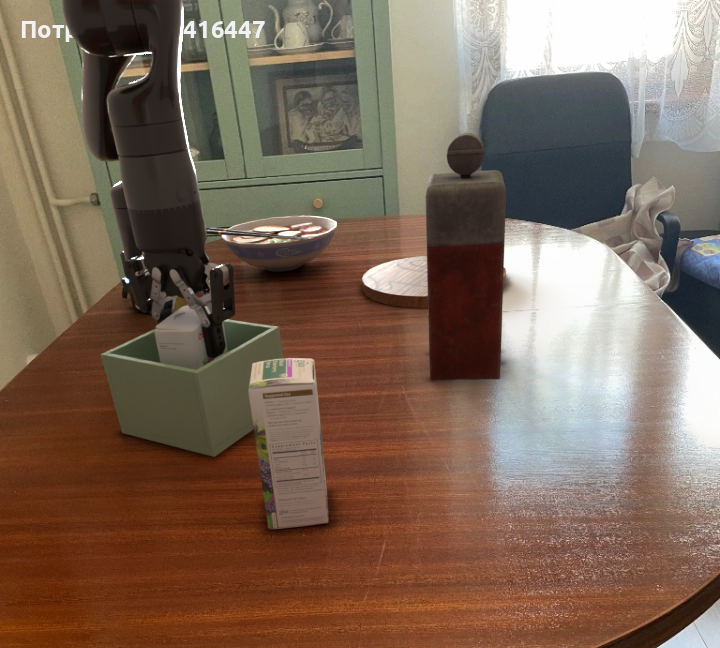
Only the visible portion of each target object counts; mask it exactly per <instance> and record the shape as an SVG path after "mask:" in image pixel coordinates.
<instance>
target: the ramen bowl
mask: <svg viewBox="0 0 720 648" xmlns="http://www.w3.org/2000/svg"><path fill="white" fill-rule="evenodd" d="M337 224H338V223H337V221H336V220H333V219H331V218H328V217H323V216H315V215H289V216H276V217H274V216H273V217H268V218H262V219H256V220H251V221H247V222H243V223H239V224H235V225H233V226H230V227H229V228H220V227H208V229H206V232H207V235H218V236H219V235H220V239H221V240H222V241H223V243H224V245H225V246H226V247H227V248H228V249H229V250H230V252H231V253H233V255H235V256H236V257H237V258H238V259H240V260H241V261H242V262H244V263H245V264H247V265H250V266H253V267H257V268H261V269H265V270H266V271H269V272H280V273H281V272H288V271H294V270H296V269H299V268H301V267H302V266H303V265H305V264H307V263H309V262H310V261H312V260H314V259H316V258H317V257H319V256H321V254H322V253H324V251H326V249H327V248H328V246H329V245H330V243H331V241H332V239H333V237H334V235H335V233H336V229H337Z"/></svg>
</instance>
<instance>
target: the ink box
mask: <svg viewBox="0 0 720 648" xmlns="http://www.w3.org/2000/svg"><path fill="white" fill-rule="evenodd" d="M204 306H205V305H204ZM205 308H206V310H207V312H208V314H210V313H211V312H210V311H209V309H208V307H207V305H206V306H205ZM202 327H203V325H202V323H201V321H200V319H199V317H198V316H197V314H196V312H195V310H193V309H190V308H189V306H183V307H181V308H180V309H178V310H177V311H176V312H174V313H173V314H172V315H170V316H169V317H167V318H166V319H165V320H163V321H162V322H161V323H159V324H158V325H157V324H156V325H155V329H156V330H155V331H154V333H155V338H156V343H157V348H158V352H159V357H160V362H161V363H164V364H169V365H174V366H179V367H185V368H190V369H195V370H197V369H199V368H201V367H203V366H204V365H206V364H208V363H210V362H211V361H213V360H215V359H217V358H219V357H220V356H222V355H224V354H226V353H228V348H227V342H226V335H225V329H224V322H222V327H223V333H224V338H225V344H226V347H225V350H224V352H223V354H221V355H219V356H218V357H216V358H210V357H208V356H207V352H206V347H205V342H204V337H203V332H202Z"/></svg>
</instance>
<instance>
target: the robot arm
mask: <svg viewBox="0 0 720 648" xmlns="http://www.w3.org/2000/svg"><path fill="white" fill-rule="evenodd" d="M61 6H62V7H61V8H62V13H63V18H64V22H65V25H66V27H67V30H68V32H69V34H70V36H71V38H72V39H73V40H74V41H75V43H76V44H77V46H79V47H80V48H81V49H82V50H81V51H82V78H81V80H82V84H81V124H82V132H83V136H84V141H85V144H86V146H87V148H88V150H89V152H90V154H91V155H92V156H93V158H95V159H96V160H98V161H100V162H118V163H119V173H120V174H119V175H120V181H119V182H117V183H115V184H114V185H112V186H111V188H110V189H109V198H110V202H111V206H112V209H113V214H114V215H113V216H114V219H115V222H116V227H117V230H118V235H119V239H120V243H121V248H122V251H121V252H120V254H119V256H120V260H121V264H122V268H123V273H124V276H125V277H122V278H121V284H122V289H121V298H123V299H128V294H129V298H130V301H131V307H132V308H135V310H137V311H139V312H141V313H143V314H147V313H149V314H150V315H151V316H152V318H153V319H154V320H155V321H156V320H157V322H156V324H157V323H158V324H159V323H161V322H162V321H163V320H165V319H166V318H167V317H169V316H170V315H172V313H173V312H174V308H175V302H176V298H177V297H181V298H184V299H185V301H186V302H187V304H188V306H189V308H190V309H193V310H195V312H196V314H197V316H198V317H199V319H200V321H201V323H202V325H203V327H202V332H203V337H204V342H205V347H206V352H207V356H208V357H210V358H216V357H218V356H219V355H221V354H223V352H224V350H225V347H226V344H225V338H224V333H223V327H222V322H223V321H225V320H227V319H228V320H230V319H231V318H232V317H235V315H236V301H235V300H236V299H235V298H236V297H235V278H234V277H235V276H234V267H233V265H232V264H231V263H230V262H226V263H224V264H221V265H220V264H217V263H213V262H211V260H210V258H209V256H208V254H207V252H206V249H205V246H206V242H207V240H208V234H207V232H206V230H207V226H206V221H205V215H204V210H203V205H202V199H201V194H200V187H199V182H198V176H197V172H196V171H197V170H196V168H195V164H194V160H193V159H192V154H191V150H190V146H189V140H188V135H187V129H186V124H185V119H184V111H183V105H182V95H181V56H182V55H181V53H182V42H183V31H184V15H185V13H184V10H185V9H184V1H183V0H61ZM144 54H145V55H146V54H151V63H150V67H149V70H148V71H147V74H146V75H145V76H144V77H142V78H140V79H137V80H136V81H135V80H134V81H133V82H132V81H131V82H129V83H126V84H123V85H121V86H118V83H119V81H120V79H121V77H122V76H123V74H124V72H125V71H126V69H127V68H128V67H129V65H130V64H131V62H132V61H133V60H134V58H135V57H136V55H144ZM142 252H144V255H142ZM200 293H202V294H203V295H202V296H200V297H198V296H197V295H199V294H200ZM205 305H206V306H207V307H208V309H209V311H210V312H211V313H210V314H208V312H207V310H206V308H205Z"/></svg>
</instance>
